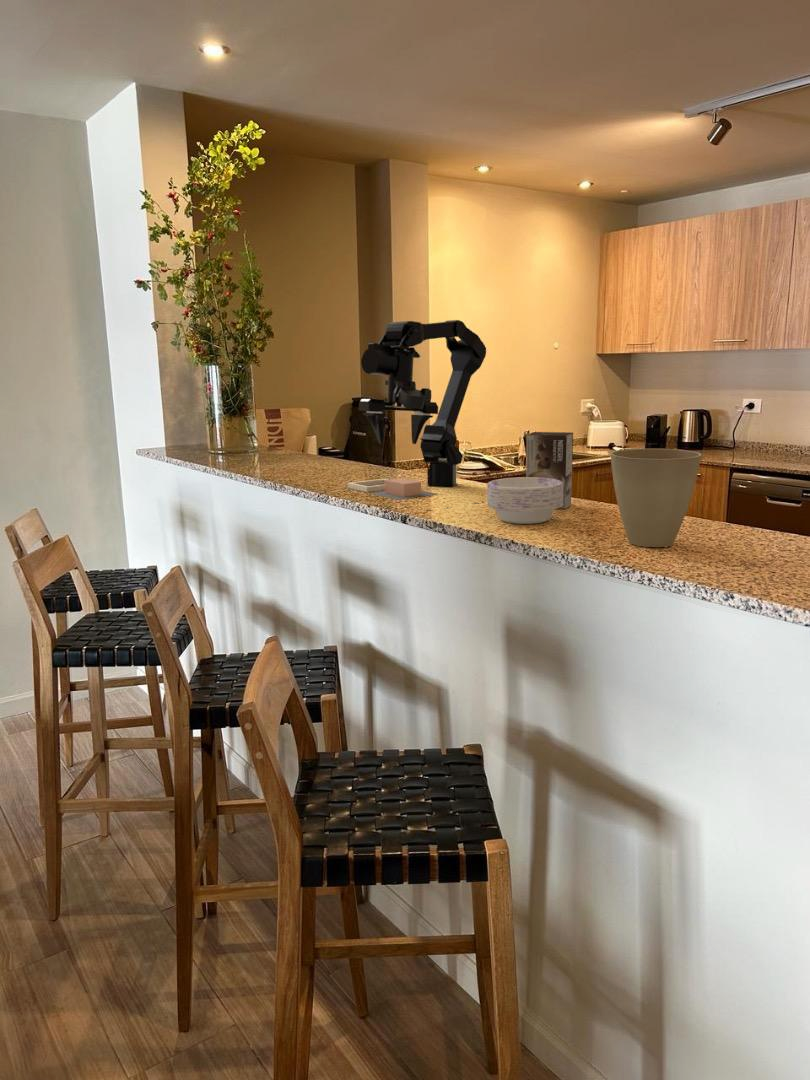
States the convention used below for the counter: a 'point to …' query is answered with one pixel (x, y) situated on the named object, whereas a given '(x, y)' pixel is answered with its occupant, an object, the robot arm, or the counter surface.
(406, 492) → the pink rectangular block
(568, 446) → the coffee box
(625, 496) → the plant pot
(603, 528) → the counter surface
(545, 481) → the paper bowls
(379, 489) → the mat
